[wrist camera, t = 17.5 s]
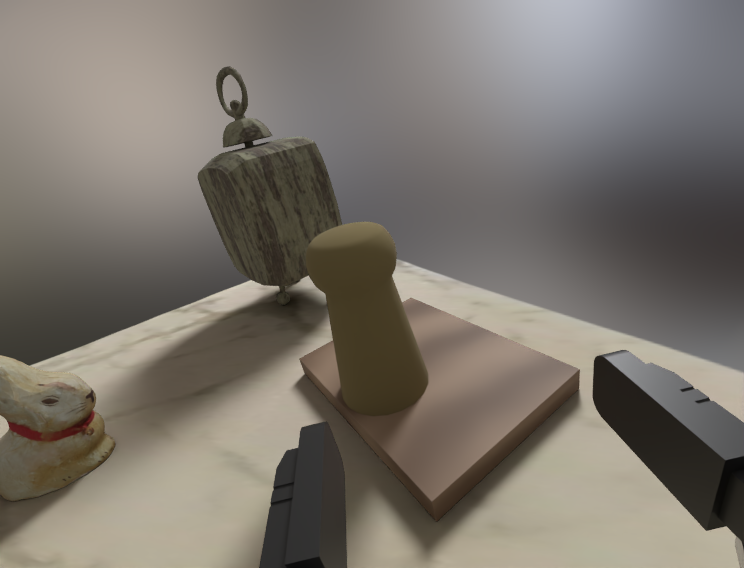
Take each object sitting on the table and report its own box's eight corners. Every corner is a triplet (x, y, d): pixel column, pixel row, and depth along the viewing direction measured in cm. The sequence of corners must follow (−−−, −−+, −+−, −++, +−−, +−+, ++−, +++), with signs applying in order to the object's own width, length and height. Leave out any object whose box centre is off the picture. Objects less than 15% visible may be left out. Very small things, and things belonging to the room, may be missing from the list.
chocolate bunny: (66, 509, 23) (-44, 388, 18) (-13, 499, 25) (-127, 390, 21) (135, 437, 27) (60, 328, 23) (64, 434, 30) (-17, 335, 26)
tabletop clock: (361, 293, 41) (294, 41, 31) (293, 332, 37) (187, 51, 26) (302, 272, 52) (238, 80, 42) (244, 299, 48) (157, 92, 37)
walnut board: (579, 388, 22) (579, 369, 21) (436, 521, 17) (431, 501, 16) (413, 311, 35) (411, 297, 34) (304, 373, 30) (299, 358, 29)
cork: (399, 428, 20) (352, 251, 16) (323, 400, 24) (268, 249, 19) (444, 363, 25) (416, 209, 20) (373, 348, 28) (337, 213, 24)
